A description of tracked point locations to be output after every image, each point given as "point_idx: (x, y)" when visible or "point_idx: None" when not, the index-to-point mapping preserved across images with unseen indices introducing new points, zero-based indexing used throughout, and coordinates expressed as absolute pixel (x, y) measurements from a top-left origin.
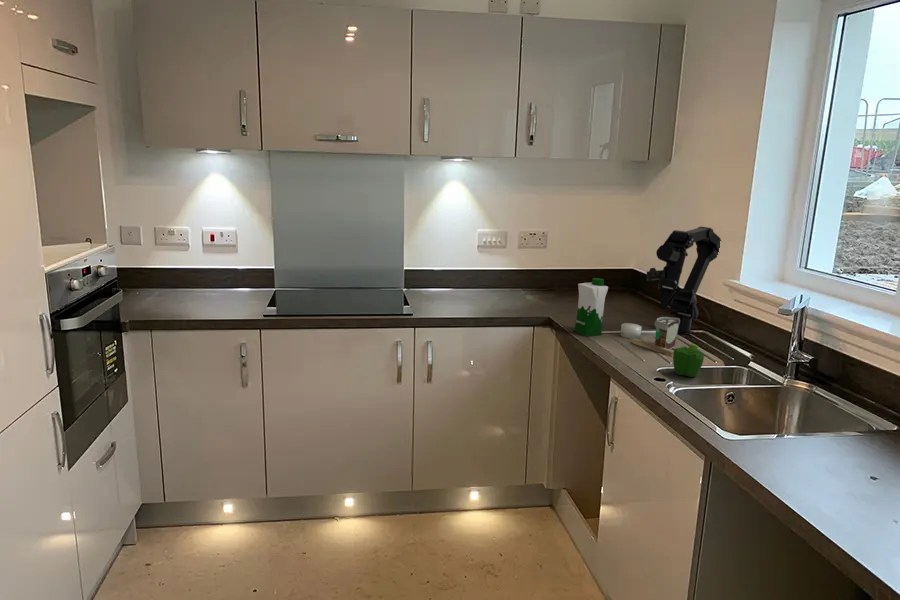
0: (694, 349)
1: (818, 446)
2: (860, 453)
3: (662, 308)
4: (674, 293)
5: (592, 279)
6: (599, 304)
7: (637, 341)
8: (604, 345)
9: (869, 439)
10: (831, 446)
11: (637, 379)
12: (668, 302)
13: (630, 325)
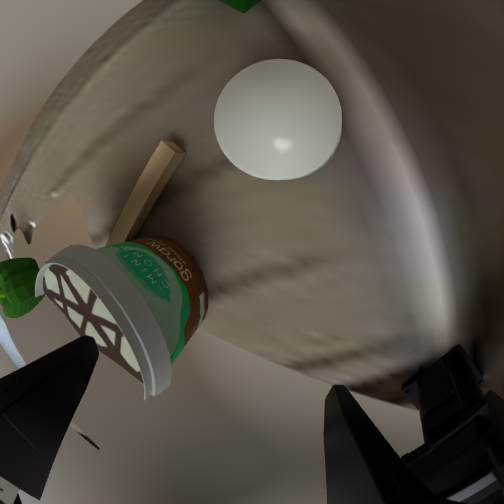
0: (6, 307)
1: (7, 338)
2: (17, 361)
3: (333, 386)
4: None
5: None
6: None
7: (149, 164)
8: (115, 64)
9: None
10: (12, 348)
11: (5, 188)
12: (330, 465)
13: (280, 108)
